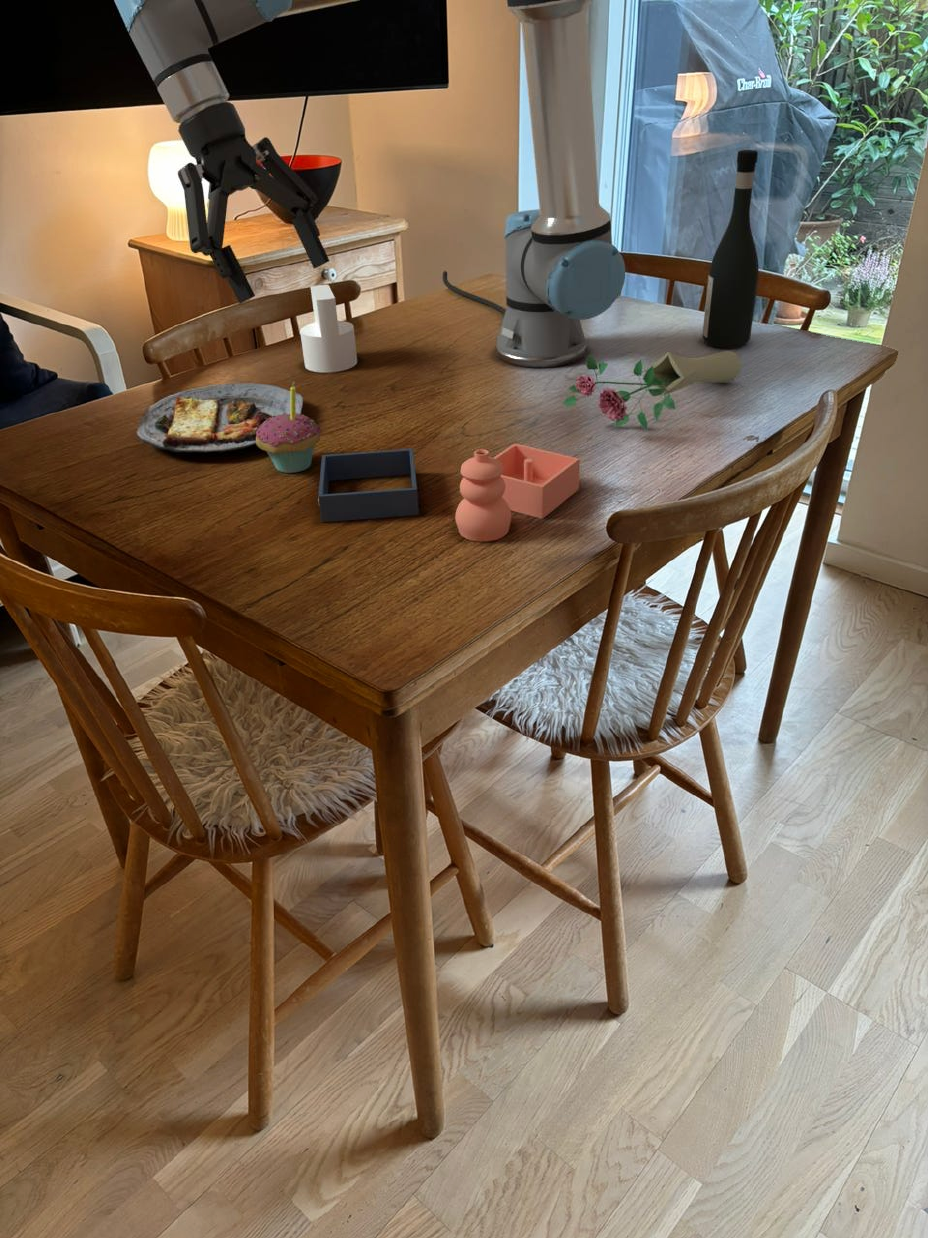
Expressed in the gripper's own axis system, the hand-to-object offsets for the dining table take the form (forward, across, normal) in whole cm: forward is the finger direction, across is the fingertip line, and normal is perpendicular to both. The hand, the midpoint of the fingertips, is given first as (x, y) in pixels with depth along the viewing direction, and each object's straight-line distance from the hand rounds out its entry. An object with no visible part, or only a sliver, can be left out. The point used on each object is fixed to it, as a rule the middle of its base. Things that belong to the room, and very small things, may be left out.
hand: (286, 282), depth 123 cm
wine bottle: (+39, -67, +18) cm, 80 cm away
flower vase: (+38, -33, +25) cm, 56 cm away
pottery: (+35, +4, +24) cm, 43 cm away
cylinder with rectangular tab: (+15, -24, -28) cm, 40 cm away
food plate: (+14, +6, -21) cm, 26 cm away
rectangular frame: (+27, +10, +10) cm, 31 cm away
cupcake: (+21, +9, -4) cm, 24 cm away
